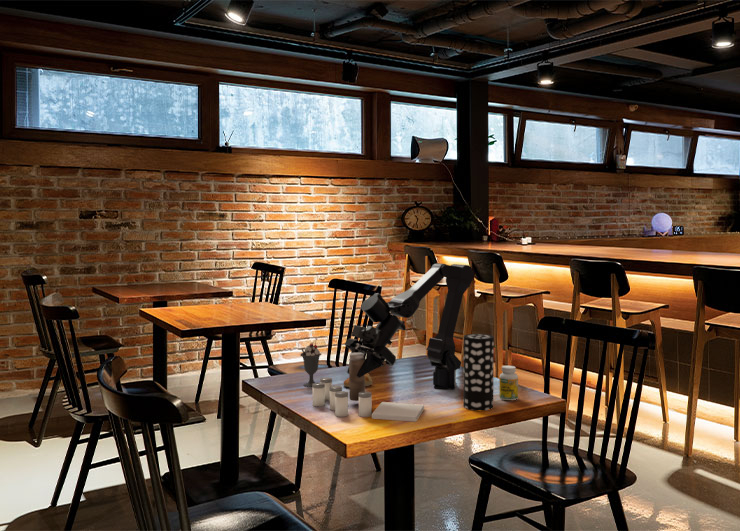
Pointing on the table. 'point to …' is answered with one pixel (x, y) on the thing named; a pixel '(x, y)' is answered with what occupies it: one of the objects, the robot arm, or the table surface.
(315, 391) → the shakers
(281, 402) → the table surface
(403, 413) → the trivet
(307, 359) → the sundae
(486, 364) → the spotted tube
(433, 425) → the table surface
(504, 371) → the supplement bottle
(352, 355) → the pepper mill
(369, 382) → the pastry
